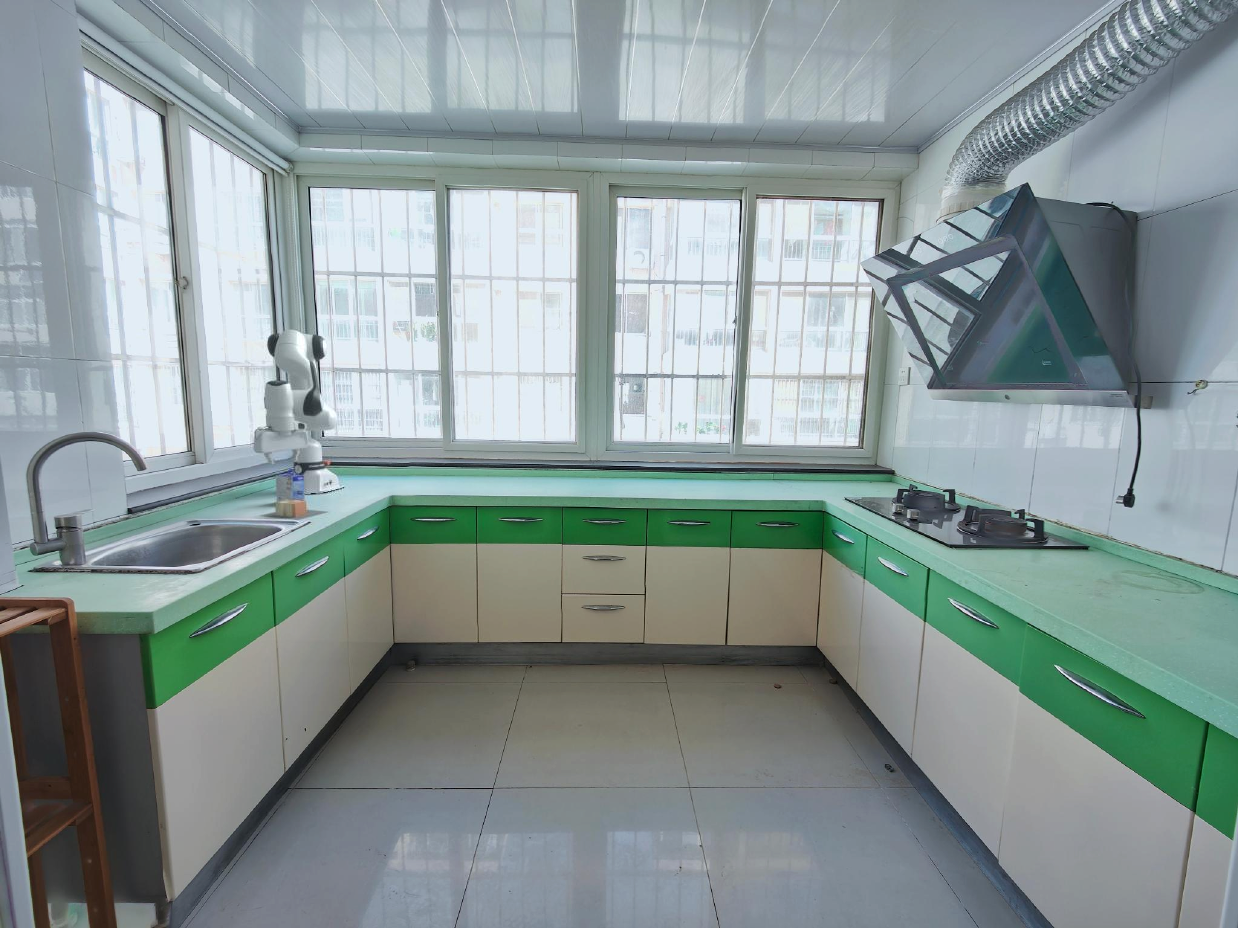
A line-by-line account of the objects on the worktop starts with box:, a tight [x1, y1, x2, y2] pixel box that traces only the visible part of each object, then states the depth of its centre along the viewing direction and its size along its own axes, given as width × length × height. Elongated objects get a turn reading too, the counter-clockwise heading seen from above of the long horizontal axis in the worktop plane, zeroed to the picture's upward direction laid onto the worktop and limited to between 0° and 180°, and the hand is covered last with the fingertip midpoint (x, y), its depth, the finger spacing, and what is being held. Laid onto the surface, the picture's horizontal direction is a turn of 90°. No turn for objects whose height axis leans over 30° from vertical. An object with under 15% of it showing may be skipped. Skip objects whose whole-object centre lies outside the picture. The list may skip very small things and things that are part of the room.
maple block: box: [274, 500, 308, 517], centre depth 199 cm, size 5×5×9 cm
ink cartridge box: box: [275, 468, 306, 502], centre depth 218 cm, size 10×6×14 cm, turn 70°
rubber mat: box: [259, 509, 328, 521], centre depth 201 cm, size 14×18×1 cm
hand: (283, 463), depth 197 cm, fingers open, 8 cm apart
